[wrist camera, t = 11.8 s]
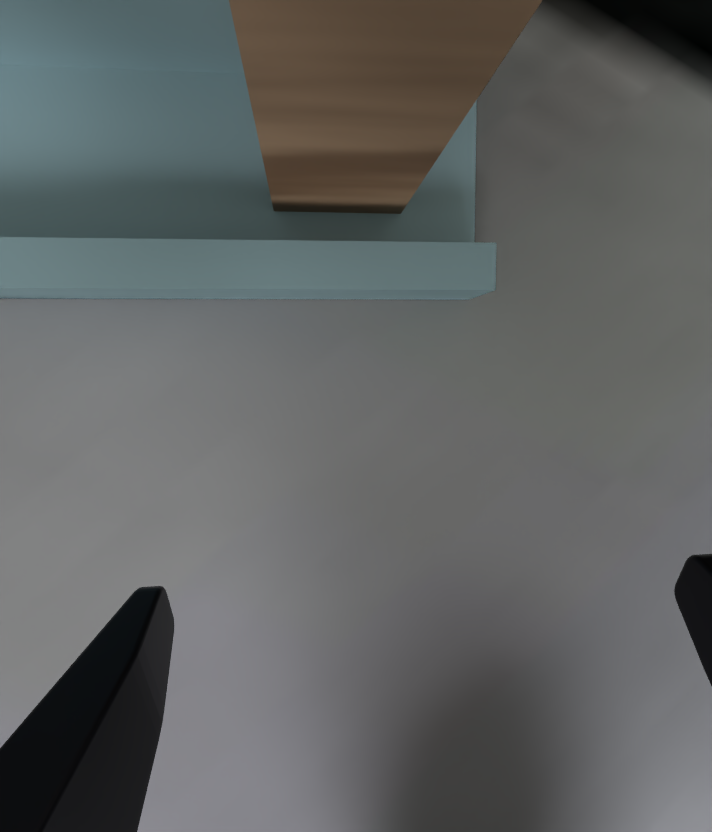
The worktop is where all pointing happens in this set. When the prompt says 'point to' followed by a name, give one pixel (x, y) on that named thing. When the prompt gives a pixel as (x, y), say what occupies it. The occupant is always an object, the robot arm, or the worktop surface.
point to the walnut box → (365, 91)
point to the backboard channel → (189, 174)
